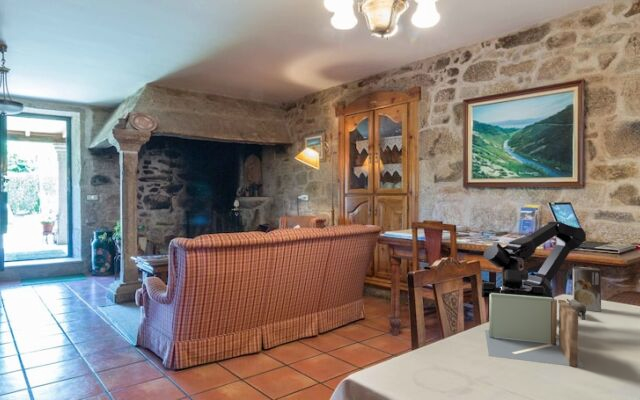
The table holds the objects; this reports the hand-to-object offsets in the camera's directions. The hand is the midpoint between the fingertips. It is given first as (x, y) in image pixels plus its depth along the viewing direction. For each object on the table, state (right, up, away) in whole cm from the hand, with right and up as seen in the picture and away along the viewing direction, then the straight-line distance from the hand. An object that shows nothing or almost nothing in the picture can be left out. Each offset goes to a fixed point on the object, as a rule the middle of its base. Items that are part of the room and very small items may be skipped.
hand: (513, 315), depth 129 cm
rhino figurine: (+34, -7, +23) cm, 42 cm away
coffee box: (+44, -7, +33) cm, 56 cm away
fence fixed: (+7, -7, -17) cm, 19 cm away
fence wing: (0, -6, -5) cm, 8 cm away
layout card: (0, -7, -10) cm, 12 cm away
